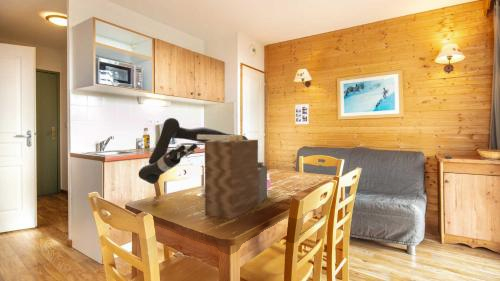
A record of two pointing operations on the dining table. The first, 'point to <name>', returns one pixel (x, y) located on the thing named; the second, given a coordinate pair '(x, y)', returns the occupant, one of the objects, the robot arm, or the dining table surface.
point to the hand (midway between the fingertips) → (190, 145)
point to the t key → (221, 137)
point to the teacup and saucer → (202, 192)
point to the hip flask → (262, 182)
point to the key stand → (230, 177)
